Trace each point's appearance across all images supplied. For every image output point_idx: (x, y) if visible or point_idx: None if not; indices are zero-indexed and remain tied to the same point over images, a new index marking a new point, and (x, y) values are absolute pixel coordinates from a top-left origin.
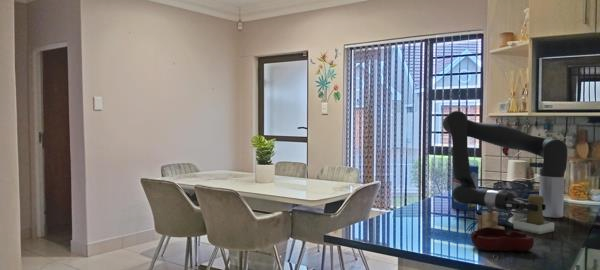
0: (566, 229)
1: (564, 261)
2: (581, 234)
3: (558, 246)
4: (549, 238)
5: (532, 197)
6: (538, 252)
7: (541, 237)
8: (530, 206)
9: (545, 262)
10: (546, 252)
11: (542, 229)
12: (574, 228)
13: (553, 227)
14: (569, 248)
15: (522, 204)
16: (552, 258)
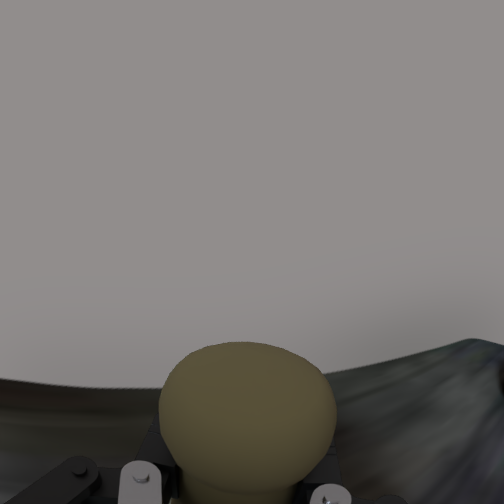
0: (74, 433)
1: (467, 342)
2: (144, 391)
3: (403, 385)
4: (342, 438)
5: (331, 396)
6: (486, 377)
7: (361, 458)
8: (336, 464)
9: (500, 348)
10: (469, 372)
11: None
12: (33, 408)
13: None
14: (388, 369)
15: (394, 500)
16: (478, 353)
